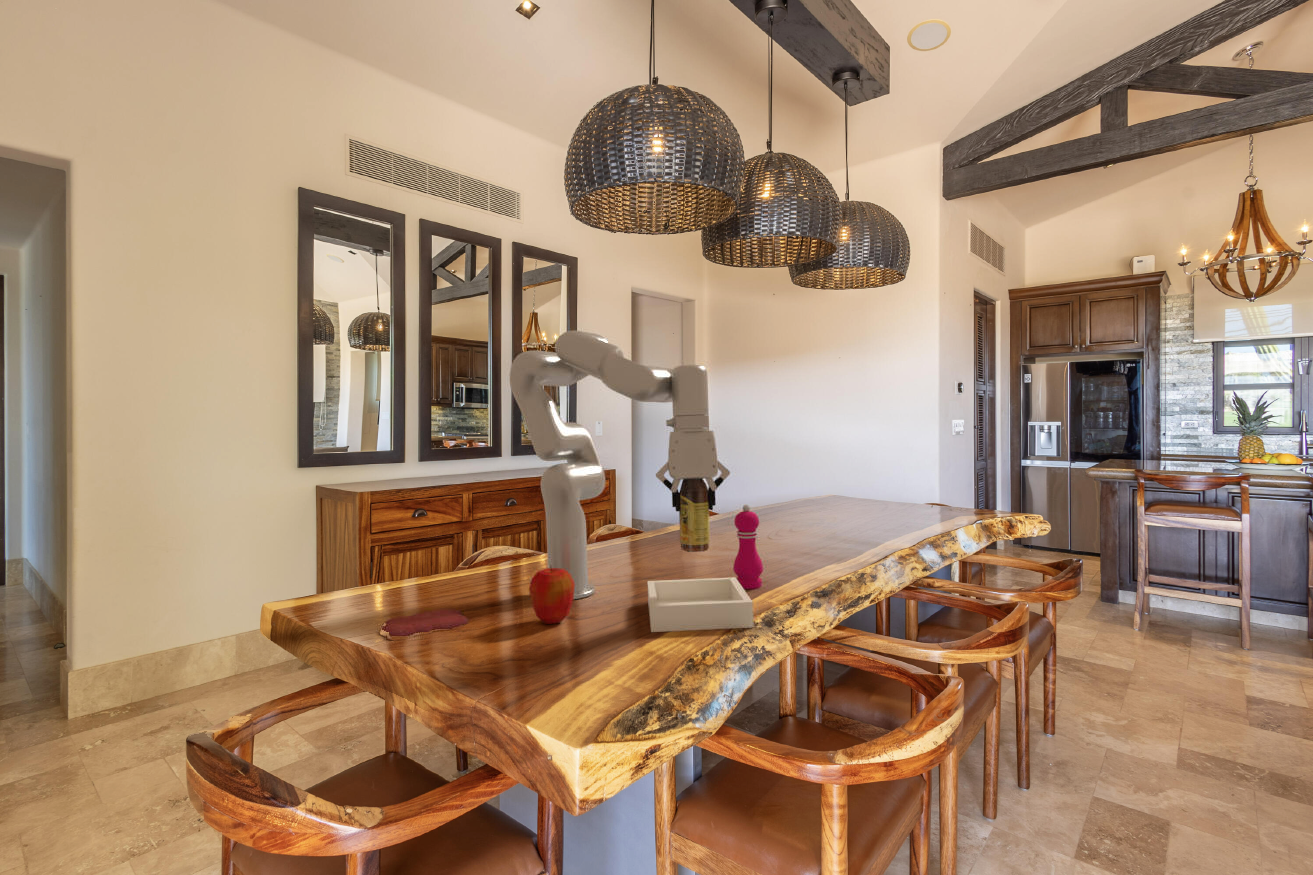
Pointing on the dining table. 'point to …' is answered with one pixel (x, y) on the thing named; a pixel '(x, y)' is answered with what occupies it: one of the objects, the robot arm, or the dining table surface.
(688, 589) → the tray
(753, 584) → the pepper mill
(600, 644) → the dining table surface
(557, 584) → the apple
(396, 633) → the patty
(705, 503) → the sauce bottle
